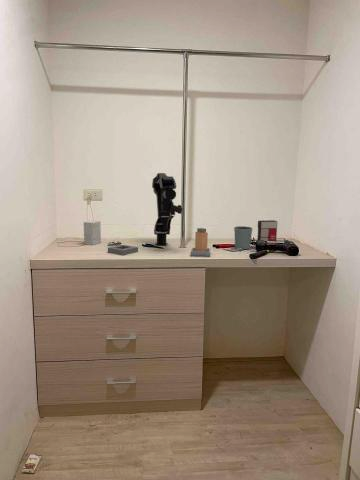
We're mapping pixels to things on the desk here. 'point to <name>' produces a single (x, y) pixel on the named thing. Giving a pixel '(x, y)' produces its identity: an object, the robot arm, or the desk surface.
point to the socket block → (122, 249)
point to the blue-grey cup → (243, 237)
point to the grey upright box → (267, 230)
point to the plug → (201, 240)
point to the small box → (92, 232)
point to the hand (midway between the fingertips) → (167, 229)
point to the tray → (200, 253)
